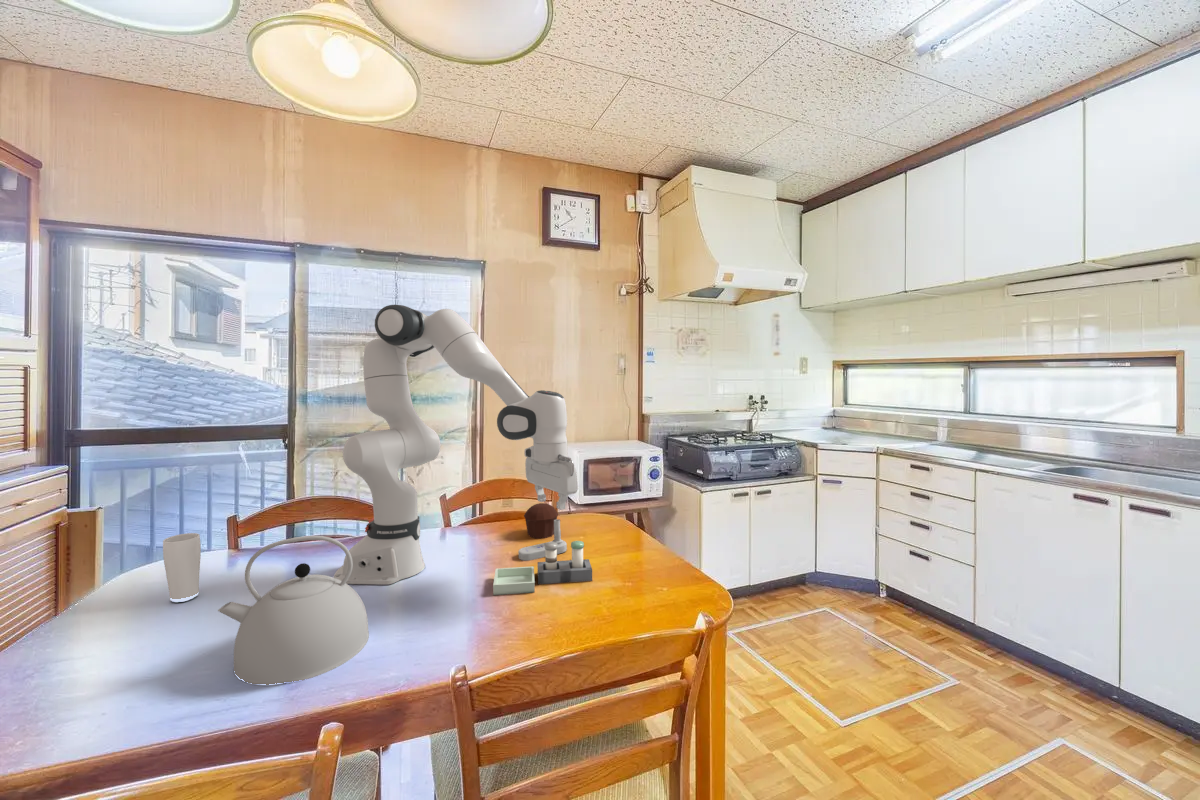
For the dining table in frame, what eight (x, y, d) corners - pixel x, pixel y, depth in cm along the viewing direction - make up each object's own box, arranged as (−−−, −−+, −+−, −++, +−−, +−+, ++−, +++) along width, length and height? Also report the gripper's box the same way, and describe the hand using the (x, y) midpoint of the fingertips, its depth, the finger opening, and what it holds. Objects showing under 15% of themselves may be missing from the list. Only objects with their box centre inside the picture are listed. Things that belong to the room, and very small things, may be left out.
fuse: (571, 579, 127) (571, 545, 127) (570, 573, 130) (570, 541, 130) (584, 578, 128) (584, 544, 127) (583, 572, 131) (583, 540, 130)
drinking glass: (209, 595, 117) (206, 535, 116) (175, 608, 111) (171, 544, 110) (193, 590, 120) (190, 531, 119) (159, 602, 114) (156, 539, 113)
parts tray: (493, 595, 118) (493, 585, 118) (495, 577, 128) (495, 568, 128) (534, 592, 119) (534, 582, 119) (533, 575, 129) (533, 566, 129)
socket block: (538, 584, 124) (538, 572, 124) (537, 572, 131) (537, 562, 131) (592, 580, 126) (592, 569, 126) (588, 569, 133) (588, 559, 133)
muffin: (542, 542, 154) (542, 511, 154) (516, 536, 160) (516, 506, 160) (565, 532, 164) (565, 503, 164) (540, 526, 170) (539, 498, 170)
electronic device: (515, 525, 142) (561, 516, 150) (516, 557, 143) (562, 547, 150) (521, 530, 138) (568, 521, 145) (522, 563, 139) (569, 552, 146)
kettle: (197, 703, 80) (191, 570, 78) (238, 634, 100) (233, 528, 99) (366, 667, 89) (362, 548, 88) (371, 611, 110) (368, 514, 109)
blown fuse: (545, 580, 126) (544, 547, 125) (544, 575, 129) (544, 542, 129) (558, 579, 127) (557, 546, 126) (557, 574, 130) (557, 541, 129)
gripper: (583, 456, 120) (584, 511, 121) (541, 447, 136) (541, 495, 137) (562, 459, 116) (563, 516, 117) (521, 449, 132) (521, 499, 133)
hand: (551, 505), depth 127 cm, fingers open, 8 cm apart
